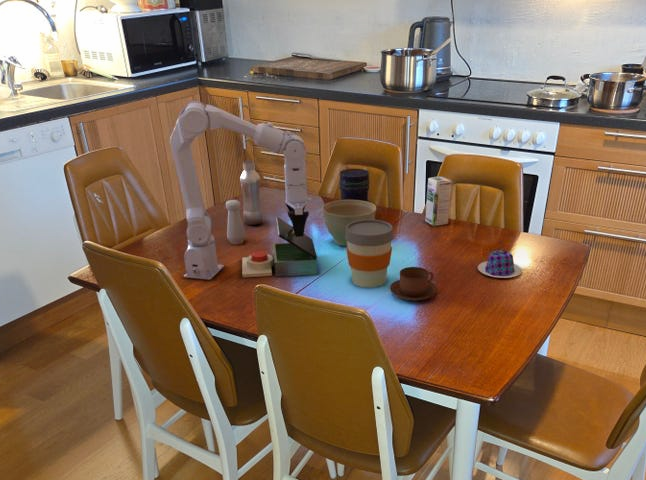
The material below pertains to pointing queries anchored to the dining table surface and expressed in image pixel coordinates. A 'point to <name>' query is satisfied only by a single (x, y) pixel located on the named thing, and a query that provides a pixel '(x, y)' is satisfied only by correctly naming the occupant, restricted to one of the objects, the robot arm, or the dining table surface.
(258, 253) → the button
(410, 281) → the cup and saucer
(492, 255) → the pudding
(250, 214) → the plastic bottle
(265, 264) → the button base
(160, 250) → the dining table surface
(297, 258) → the dark green box
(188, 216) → the robot arm
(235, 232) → the salt shaker
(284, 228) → the lid
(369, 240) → the reusable coffee cup
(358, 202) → the planter bowl
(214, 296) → the dining table surface
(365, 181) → the storage jar
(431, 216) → the syrup box
